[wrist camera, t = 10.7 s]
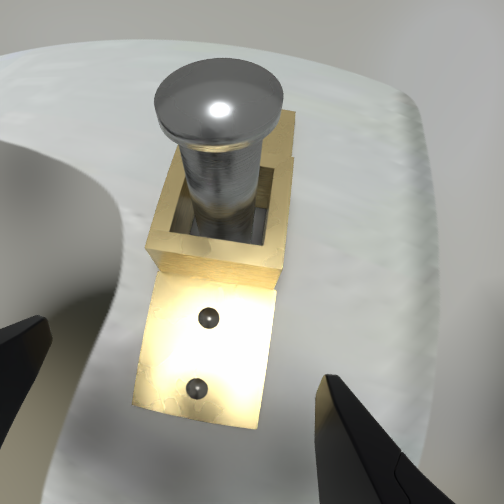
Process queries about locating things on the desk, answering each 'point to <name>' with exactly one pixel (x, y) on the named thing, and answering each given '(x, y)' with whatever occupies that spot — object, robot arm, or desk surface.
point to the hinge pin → (220, 138)
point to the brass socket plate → (214, 300)
